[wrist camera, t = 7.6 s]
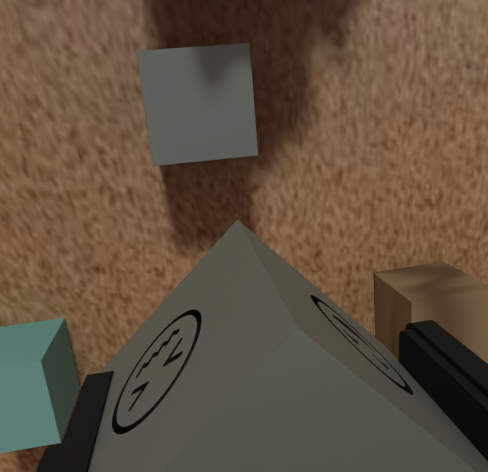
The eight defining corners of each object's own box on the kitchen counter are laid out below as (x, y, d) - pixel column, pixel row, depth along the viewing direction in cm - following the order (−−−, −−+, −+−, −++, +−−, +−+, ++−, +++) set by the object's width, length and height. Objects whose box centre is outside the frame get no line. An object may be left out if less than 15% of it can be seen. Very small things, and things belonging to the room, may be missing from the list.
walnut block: (442, 261, 29) (493, 288, 25) (441, 327, 31) (489, 365, 26) (372, 272, 29) (411, 302, 24) (374, 338, 30) (411, 379, 25)
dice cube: (251, 483, 11) (304, 755, 6) (91, 382, 10) (7, 634, 5) (386, 346, 11) (552, 532, 6) (237, 219, 9) (298, 327, 5)
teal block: (65, 317, 27) (40, 360, 22) (80, 387, 28) (60, 442, 23) (-21, 329, 26) (-66, 376, 21) (-1, 400, 27) (-39, 460, 22)
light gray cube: (235, 58, 24) (249, 42, 19) (242, 148, 25) (258, 155, 21) (144, 64, 24) (136, 50, 19) (157, 157, 25) (152, 166, 20)
